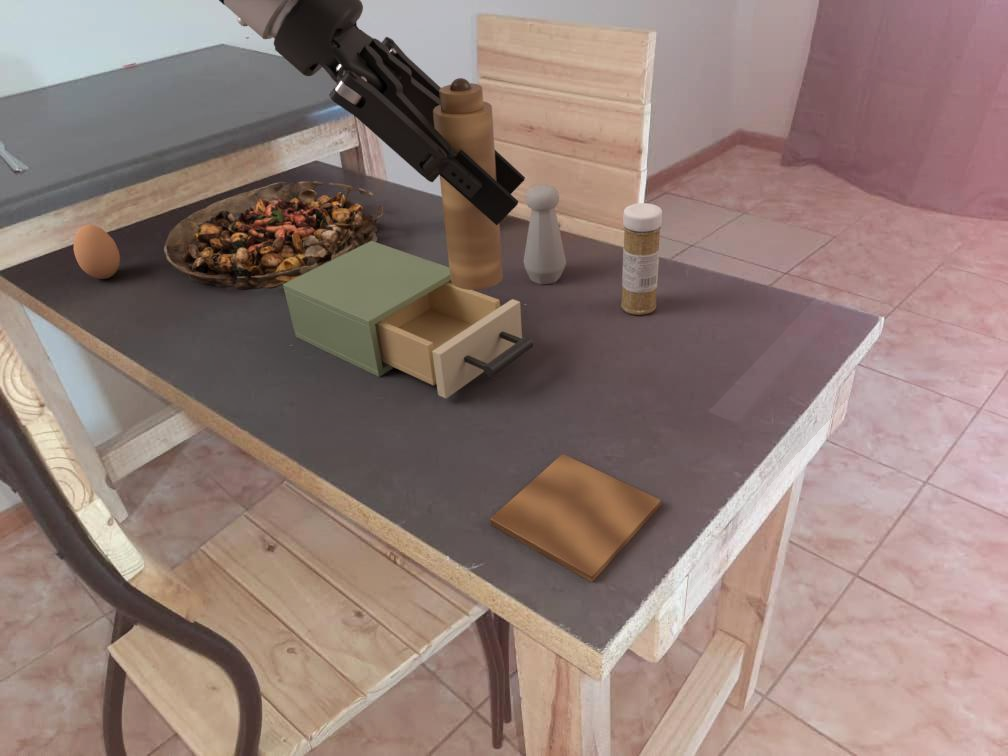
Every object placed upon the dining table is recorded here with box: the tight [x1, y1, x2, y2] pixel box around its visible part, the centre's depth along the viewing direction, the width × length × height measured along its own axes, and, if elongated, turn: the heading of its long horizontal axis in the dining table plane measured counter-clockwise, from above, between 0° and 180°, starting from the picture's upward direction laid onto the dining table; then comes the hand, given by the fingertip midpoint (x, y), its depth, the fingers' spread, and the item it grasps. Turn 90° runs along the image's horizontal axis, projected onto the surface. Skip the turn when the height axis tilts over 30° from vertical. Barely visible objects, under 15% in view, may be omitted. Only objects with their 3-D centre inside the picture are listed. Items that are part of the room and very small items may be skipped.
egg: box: [73, 224, 121, 280], centre depth 114 cm, size 6×6×8 cm
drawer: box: [375, 282, 534, 400], centre depth 90 cm, size 19×13×6 cm
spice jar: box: [620, 202, 663, 316], centre depth 96 cm, size 5×5×14 cm
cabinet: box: [282, 241, 452, 378], centre depth 97 cm, size 16×15×8 cm
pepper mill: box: [433, 77, 504, 291], centre depth 69 cm, size 5×5×18 cm
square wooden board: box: [489, 453, 662, 583], centre depth 70 cm, size 11×11×1 cm
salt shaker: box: [523, 184, 567, 285], centre depth 104 cm, size 6×6×13 cm
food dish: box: [163, 180, 384, 290], centre depth 120 cm, size 35×33×8 cm
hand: (510, 200), depth 70 cm, fingers closed on pepper mill, 5 cm apart
